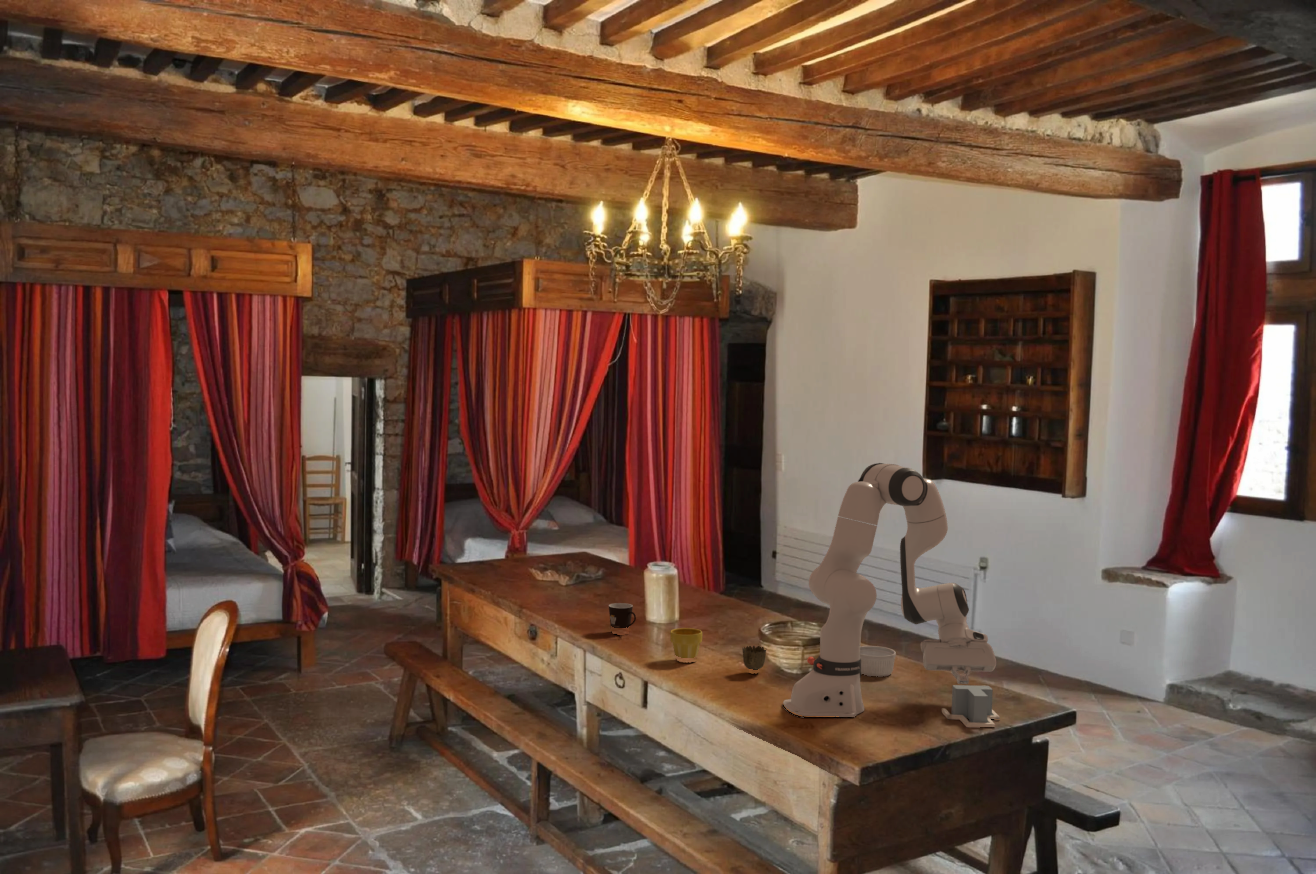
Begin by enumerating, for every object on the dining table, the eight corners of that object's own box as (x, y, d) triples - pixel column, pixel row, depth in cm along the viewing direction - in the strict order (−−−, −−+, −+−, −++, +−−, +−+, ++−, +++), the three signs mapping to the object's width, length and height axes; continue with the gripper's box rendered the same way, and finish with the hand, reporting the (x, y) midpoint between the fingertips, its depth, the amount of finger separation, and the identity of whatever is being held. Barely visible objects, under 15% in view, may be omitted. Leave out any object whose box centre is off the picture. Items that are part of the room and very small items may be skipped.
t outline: (954, 726, 285) (954, 723, 285) (941, 711, 298) (941, 708, 298) (1007, 728, 285) (1007, 724, 285) (992, 712, 298) (992, 709, 298)
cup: (737, 671, 336) (738, 646, 336) (759, 669, 339) (759, 644, 338) (748, 677, 329) (748, 651, 329) (769, 675, 332) (770, 650, 331)
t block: (961, 725, 287) (962, 695, 286) (951, 713, 297) (952, 685, 296) (999, 725, 287) (1000, 696, 286) (987, 714, 297) (988, 685, 296)
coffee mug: (605, 631, 387) (605, 603, 386) (628, 630, 389) (629, 602, 389) (613, 638, 375) (614, 610, 375) (637, 637, 378) (638, 609, 378)
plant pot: (665, 658, 351) (666, 628, 350) (695, 656, 354) (696, 626, 353) (675, 666, 341) (676, 635, 340) (706, 664, 344) (707, 633, 344)
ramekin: (863, 679, 330) (864, 657, 330) (845, 668, 343) (845, 646, 342) (902, 677, 334) (903, 654, 333) (882, 666, 346) (883, 644, 346)
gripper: (921, 633, 309) (928, 676, 300) (992, 635, 309) (1001, 678, 300) (917, 645, 314) (924, 687, 305) (987, 646, 314) (996, 689, 304)
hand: (963, 682), depth 302 cm, fingers closed
